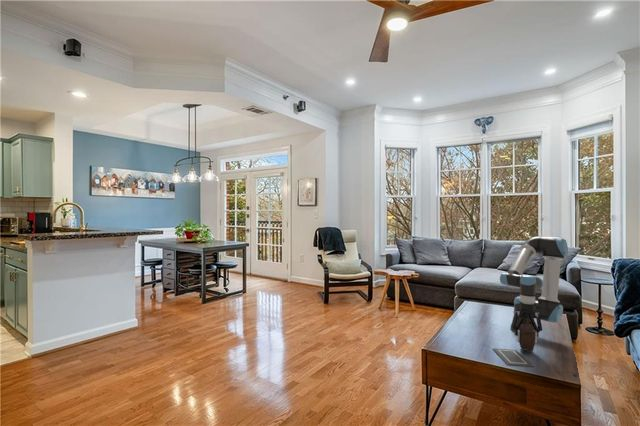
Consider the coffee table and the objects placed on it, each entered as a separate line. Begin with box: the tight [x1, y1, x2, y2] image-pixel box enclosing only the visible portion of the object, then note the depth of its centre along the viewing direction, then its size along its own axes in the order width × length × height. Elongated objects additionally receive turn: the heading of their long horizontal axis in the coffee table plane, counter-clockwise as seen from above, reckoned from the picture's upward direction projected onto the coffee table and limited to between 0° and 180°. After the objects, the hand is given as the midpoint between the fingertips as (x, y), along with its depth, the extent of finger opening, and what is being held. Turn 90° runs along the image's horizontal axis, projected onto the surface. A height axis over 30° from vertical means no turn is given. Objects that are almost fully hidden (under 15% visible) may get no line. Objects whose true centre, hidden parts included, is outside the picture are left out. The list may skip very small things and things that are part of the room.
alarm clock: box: [518, 317, 536, 354], centre depth 193 cm, size 14×7×20 cm, turn 153°
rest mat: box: [492, 348, 535, 368], centre depth 183 cm, size 13×20×1 cm, turn 172°
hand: (526, 341), depth 193 cm, fingers closed on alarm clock, 8 cm apart
